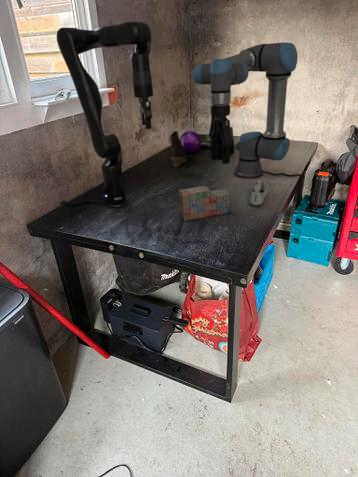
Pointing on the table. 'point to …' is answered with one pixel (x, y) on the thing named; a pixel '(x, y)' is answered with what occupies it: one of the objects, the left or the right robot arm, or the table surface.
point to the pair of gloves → (206, 142)
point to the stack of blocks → (203, 202)
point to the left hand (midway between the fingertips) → (146, 126)
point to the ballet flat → (258, 193)
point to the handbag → (220, 144)
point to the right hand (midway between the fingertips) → (219, 159)
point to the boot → (176, 150)
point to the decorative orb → (190, 142)
